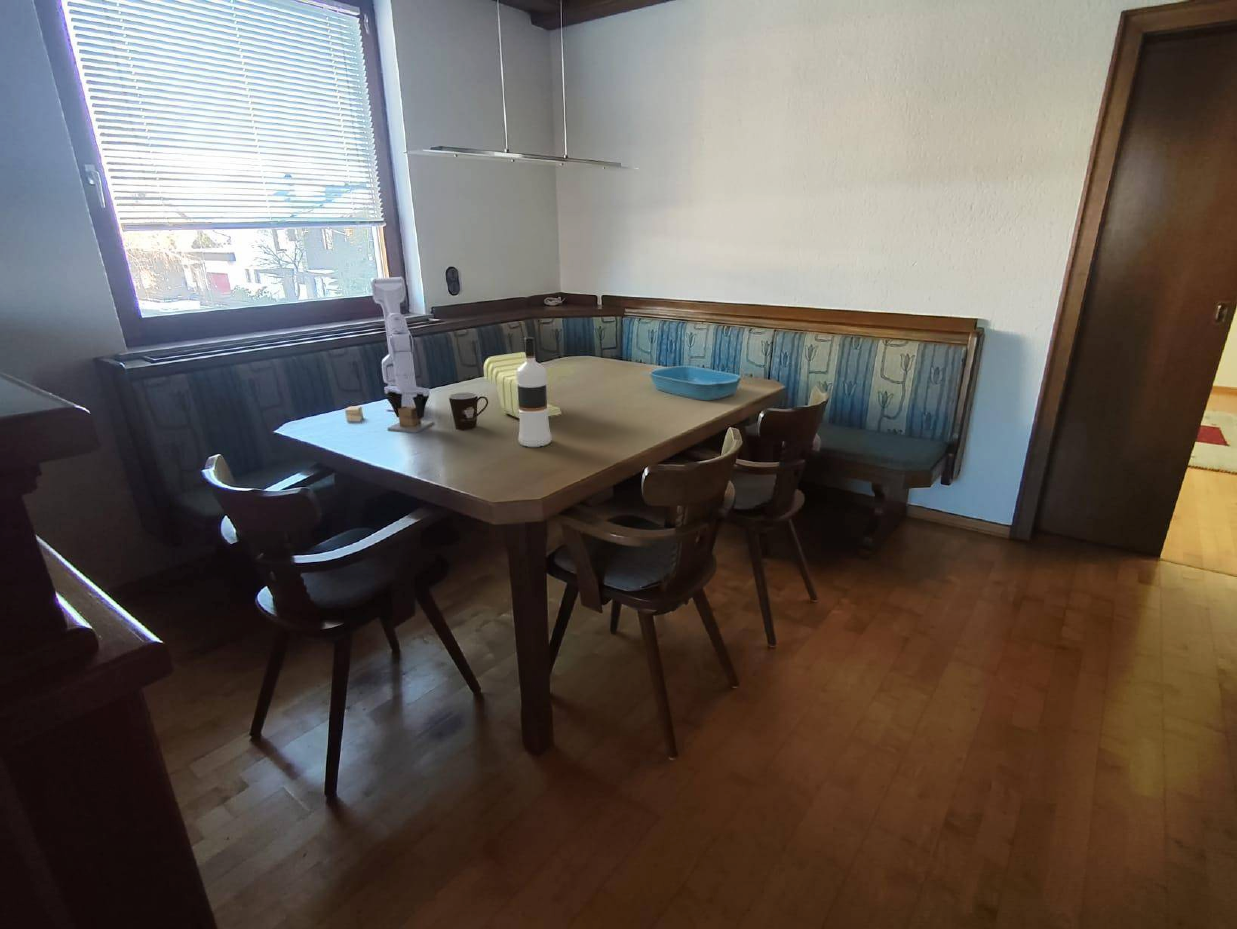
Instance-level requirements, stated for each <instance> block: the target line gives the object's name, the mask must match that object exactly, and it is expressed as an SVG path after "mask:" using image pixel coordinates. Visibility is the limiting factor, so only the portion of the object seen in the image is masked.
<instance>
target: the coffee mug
mask: <svg viewBox="0 0 1237 929" xmlns="http://www.w3.org/2000/svg"><path fill="white" fill-rule="evenodd" d="M481 399H484V400H485V401H486V402H485V405H484V407H483V408H482V409H481V410H480V411H479V412H478V403H479V401H480V400H481ZM448 401H449V405H450V409H451V410H450V411H451V413H452V418H453V422H454V426H455V429H456V430H459V431H468V430H473V428H474V429H476V428H477V426H478V424H477V422H478V417H479V415H481V414H482V412H484V411H485V410H486V409H487V407H488V405H489V400H488V398H487V397H486V396H479V397H478V393H476V392H469V391H468V392H456V393H453V394H450V395H448ZM475 427H476V428H475Z"/></svg>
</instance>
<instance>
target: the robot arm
mask: <svg viewBox="0 0 1237 929" xmlns="http://www.w3.org/2000/svg"><path fill="white" fill-rule="evenodd" d="M370 284H371V285H370V286H371V293H372V299H373V301H374V303H375V304H378V305H380V307H381V308H382V311H383V318H384V319H383V320H384V326H385V334H386V340H387V349H388V354H387V355H385V357H383V358H382V360H381V373H382V378H383V382H384V383H385V384H387V386H384V389H383V390H384V394H385V399H386V400H387V401H388V402H389V404H390V407H388V408H387V407H386V408H385V409H386V411H391V412H392V411H394V414H395V416H396V418H399V414H398V409H399V408H401V407H404V406H406V405H408V406H416V410H417V417H418V419H421V420H422V419H424V416H425V410H426V405H427V402H428V400H429V398H430V395H431V393H430V388H425V387H421V386H417V383H416V375H415V365H414V358H413V352H414V340H413V336H412V334H411V331H410V330H409V329H408V324H407V319H406V316H404V314H401V303H403V302H404V300H405V298H406V293H407V292H406V285H405V279H404V278H403V277H402V276H397V277H394V276H393V277H391V276H390V277H372V278H371V279H370ZM386 394H387V395H386Z"/></svg>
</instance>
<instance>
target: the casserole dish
mask: <svg viewBox="0 0 1237 929" xmlns="http://www.w3.org/2000/svg"><path fill="white" fill-rule="evenodd" d="M649 375H650V378H651V381H652V384H653V385H654V387H655V388H656V389H657V390H659V391H660V390H661V391H660V392H663V391H664V393H667V394H671V393H672V395H676V396H680V397H683V398H684V397H685V398H688V399H693V400H699V401H713V400H717V399H721V398H725V397H729V396H731V395H733V394H734V393H735V392H736V391H737V389H738V387H739V384H740V381H741V379H742V376H741V375H740V374H736V373H731V372H726V371H721V370H714V369H710V368H704V367H699V366H693V365H676V366H674V365H673V366H666V367H665V366H664V367H659V368H656V369H654V370H652V371H650V372H649Z"/></svg>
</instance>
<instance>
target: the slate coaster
mask: <svg viewBox="0 0 1237 929" xmlns="http://www.w3.org/2000/svg"><path fill="white" fill-rule="evenodd" d="M433 425H435V421H433V420H432V421H431V420H422V419H421V424H419V425H417V426H415V427H403V426H400V421H399V422H397V423H395V424H394V425H393V424H392V426H389V427H387V431H388V432H389V431H391V432H402V433H413V434H417V433H419V432H421V431H423V430H425V429H427V428H429V427H431V426H433Z"/></svg>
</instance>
